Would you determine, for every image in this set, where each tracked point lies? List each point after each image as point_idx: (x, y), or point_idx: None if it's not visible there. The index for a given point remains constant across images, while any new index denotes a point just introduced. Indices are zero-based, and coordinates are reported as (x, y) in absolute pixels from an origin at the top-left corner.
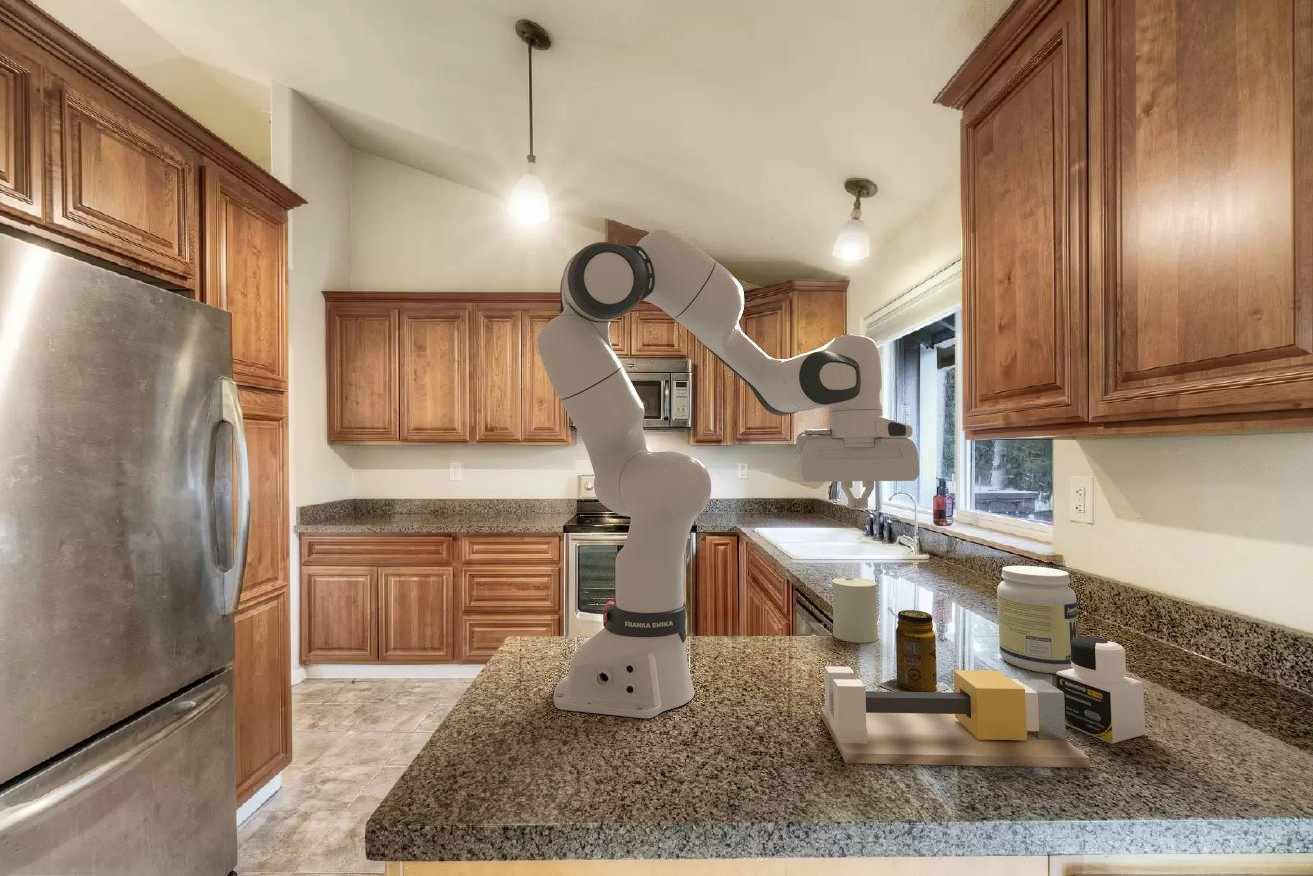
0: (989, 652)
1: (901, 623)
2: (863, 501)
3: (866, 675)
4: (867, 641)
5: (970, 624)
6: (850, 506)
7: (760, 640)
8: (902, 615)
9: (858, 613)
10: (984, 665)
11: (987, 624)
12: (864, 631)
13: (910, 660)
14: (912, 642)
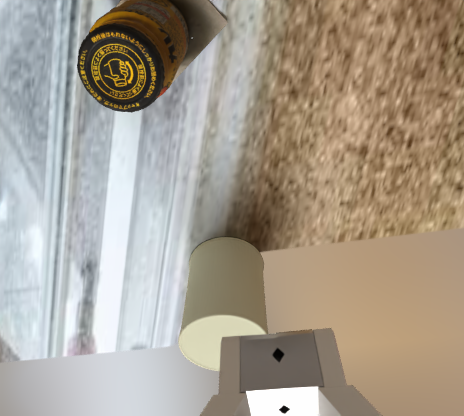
0: (18, 223)
1: (160, 48)
2: (250, 365)
3: (239, 78)
4: (211, 240)
5: (41, 333)
6: (332, 338)
7: (398, 227)
8: (153, 53)
9: (223, 273)
10: (29, 162)
11: (17, 336)
12: (214, 251)
13: (157, 7)
14: (144, 11)
